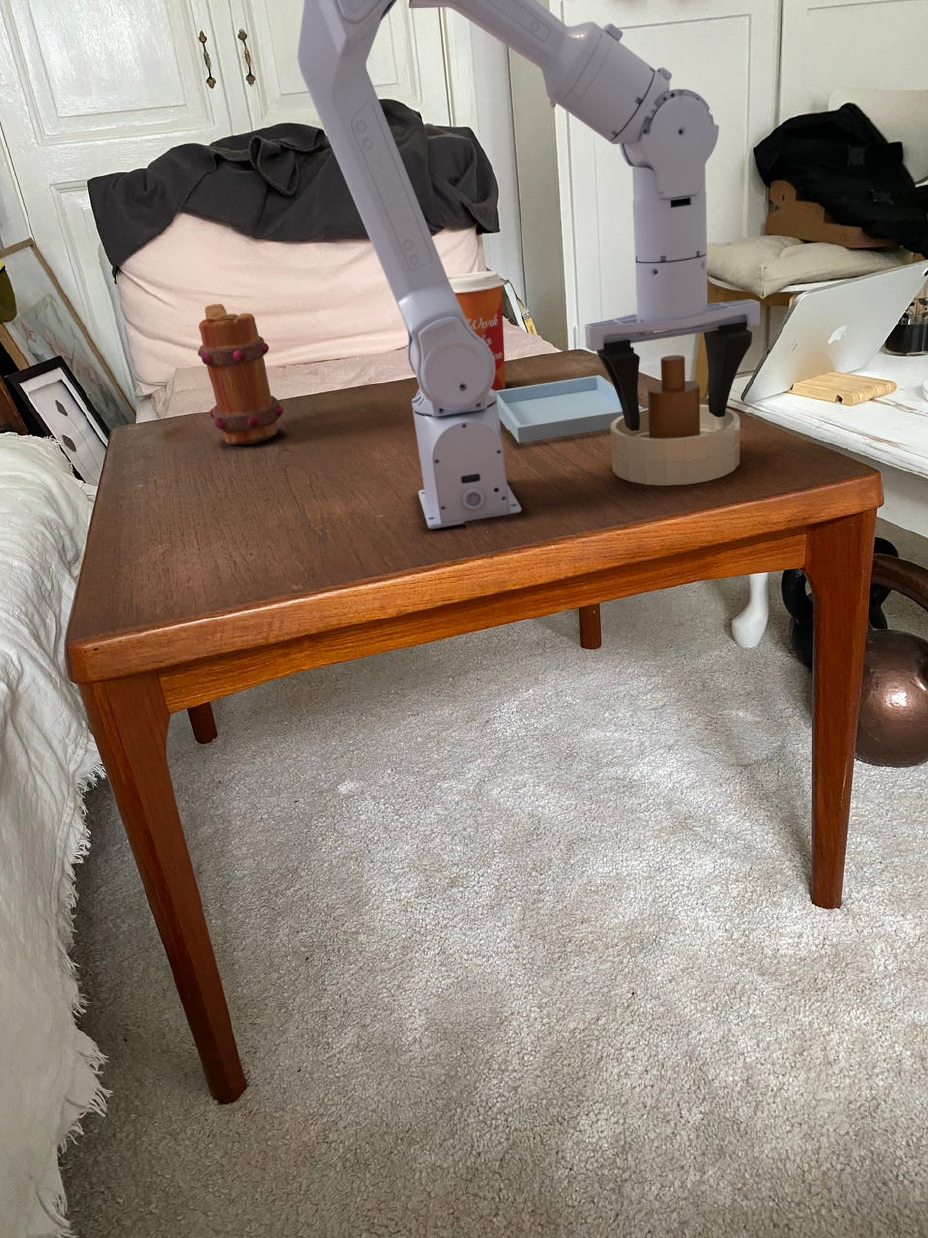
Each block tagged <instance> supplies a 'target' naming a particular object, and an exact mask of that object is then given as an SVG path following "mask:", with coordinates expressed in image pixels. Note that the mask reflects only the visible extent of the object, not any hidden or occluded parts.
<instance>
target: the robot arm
mask: <svg viewBox="0 0 928 1238" xmlns="http://www.w3.org/2000/svg"><path fill="white" fill-rule="evenodd" d="M396 2H398V0H303V5H302V13H301V21H300V29H299V36H298V45H297V53H296V55H297V57H296V58H297V64H298V67H299V71H300V74H301V77H302V80H303V82H304V85H305V86H306V90H307V91H308V94H309V96H310V99H311V101H312V104H313V106H314V109H315V111H316V113H317V115H318V117H319V120H320V123H321V125H322V127H323V130H324V132H325V135H326V136H327V140H328V142H329V144H330V147H331V149H332V151H333V154H334V156H335V158H336V161H337V164H338V166H339V168H340V170H341V173H342V175H343V177H344V180H345V182H346V183H345V184H346V185H347V188H348V190H349V192H350V194H351V197H352V199H353V201H354V204H355V206H356V209H357V211H358V214H359V216H360V219H361V221H362V223H363V225H364V228H365V231H366V233H367V235H368V238H369V240H370V242H371V245H372V247H373V249H374V252H375V254H376V257H377V259H378V261H379V264H380V267H381V269H382V271H383V274H384V276H385V278H386V281H387V283H388V286H389V288H390V291H391V293H392V296H393V298H394V300H395V302H396V305H397V308H398V310H399V313H400V316H401V319H402V320H403V323H404V326H405V328H406V331H407V337H408V342H407V344H408V345H407V359H408V363H409V366H410V368H411V371H412V372H413V374H414V375H415V376H416V381H417V384H418V386H419V389H418V390H417V392H416V394H415V397H414V398H412V399H411V408H412V415H413V421H414V427H415V435H416V441H417V450H418V456H419V462H420V470H421V476H422V483H423V489H421V490H418V492H417V493H418V498H419V501H420V505H421V508H422V511H423V515H424V519H425V522H426V525H427V528H428V529H430V530H433V529H434V530H435V529H440V528H448V527H453V526H460V525H465V524H466V523H465V522H467V521H473V520H480V519H487V518H492V517H499V516H505V515H510V514H518V513H521V512H522V507H521V505H520V503H519V501H518V500H517V498H516V496H515V495H514V494H513V491H512V489H511V487H510V486H509V484H508V480H507V471H506V470H507V469H506V461H505V451H504V445H503V439H502V430H501V420H500V418H499V410H498V401H497V393H496V391H495V390H493V389H491V387H492V385H493V382H494V379H495V372H496V369H495V360H494V357H493V354H492V351H491V350H490V348H489V346H488V345H487V344H486V343H485V341H484V340H482V339H481V338H480V337H479V336H478V335H477V334H476V333H475V331H474V330H473V329H472V327H471V326H470V325H469V324H468V323H467V320H466V318H465V316H464V313H463V310H462V308H461V306H460V304H459V302H458V300H457V297H456V295H455V293H454V291H453V289H452V287H451V285H450V283H449V280H448V278H449V277H448V275H447V273H446V270H445V267H444V266H443V265H444V264H443V263H442V259H441V258H440V254H439V253H438V252H439V251H438V249H437V248H436V247H437V246H436V244H435V242H434V239H433V237H432V234H431V231H430V229H429V227H428V224H427V222H426V219H425V216H424V213H423V211H422V209H421V206H420V203H419V200H418V198H417V195H416V193H415V190H414V188H413V185H412V183H411V180H410V177H409V175H408V172H407V170H406V166H405V164H404V162H403V159H402V156H401V154H400V152H399V149H398V146H397V145H396V141H395V139H394V135H393V133H392V131H391V129H390V126H389V124H388V121H387V118H386V116H385V113H384V110H383V108H382V106H381V103H380V100H379V98H378V94H377V93H376V90H375V87H374V84H373V82H372V79H371V77H370V74H369V72H368V68H367V61H368V58H369V55H370V53H371V50H372V48H373V45H374V42H375V40H376V36H377V35H378V34H377V33H378V31H379V29H380V25H381V23H382V20H383V19H384V18H385V17H386V16H387V15H388V14H389V12H390V11H391V9H392V8H393V7H394V5H395V4H396ZM432 8H434V9H436V8H437V9H438V8H448V9H452V10H453V11H455V12H456V13H458V14H460V15H461V16H463V17H464V18H465V19H467V20H469V21H470V22H472V23H473V24H474V25H475V26H478V27H479V28H480V29H482V30H483V31H484V32H486V33H487V34H490V35H491V36H492V37H494V38H495V39H497V40H498V41H500V42H501V43H502V44H504V45H505V46H507V47H509V48H510V49H511V50H513V51H514V52H516V53H517V54H519V55H520V56H522V57H523V58H525V59H527V61H529V62H531V63H532V64H533V65H535V66H536V67H538V68H539V69H540V70H541V72H542V76H543V79H544V84H545V90H546V94H547V97H548V99H550V100H552V101H553V102H554V103H555V104H557V105H558V106H559V107H561V108H562V109H563V110H565V111H566V112H568V113H569V114H570V115H572V116H573V117H575V118H576V119H578V120H579V121H580V122H581V123H583V124H584V125H586V127H589V128H590V129H591V130H593V131H594V132H595V133H597V134H598V135H600V136H601V137H602V138H603V139H605V140H606V141H608V142H609V143H611V144H612V145H618V146H619V150H620V153H621V155H622V157H623V160H624V161H625V163H626V164H627V165H628V167H632V169H631V170H632V193H633V194H632V195H633V199H632V218H633V220H632V221H633V241H634V245H633V246H634V267H635V268H634V270H635V294H636V313H633V314H628V315H624V316H619V317H616V318H615V317H614V318H611V319H606V320H602V321H597V322H592V323H586V324H584V336H585V347H586V348H587V349H588V350H589V351H591V352H596V353H597V356H598V358H599V359H600V361H601V363H602V365H603V367H604V368H605V370H606V372H607V374H608V377H609V378H610V380H611V384H612V385H613V386H614V388H615V390H616V393H617V395H618V398H619V401H620V405H621V408H622V412H623V416H624V421H625V426H626V427H627V428H628V429H630V430H631V431H636V430H639V429H640V414H639V405H640V404H639V370H640V361H641V356H639V355H638V354H637V353H635V347H634V346H632V345H631V344H636V343H644V342H648V341H649V342H650V341H656V340H662V339H669V338H675V337H682V336H687V335H688V336H689V335H694V334H695V335H696V334H701V333H703V338H704V345H705V352H706V361H707V362H706V363H707V374H708V375H707V377H708V378H707V405H708V406H709V412H710V413H711V414H713V415H714V416H716V417H724V416H725V412H726V409H727V407H728V402H729V398H730V395H731V394H730V393H731V390H732V387H733V384H734V381H735V378H736V375H737V373H738V370H739V369H740V366H741V364H742V362H743V360H744V358H745V356H746V354H747V352H748V351H749V349H750V347H751V346H752V343H753V331H751V330H749V329H748V328H753V327H758V326H760V325H761V302H760V301H758V300H755V299H751V298H750V299H741V300H735V301H723V302H712V303H708V264H707V263H708V258H707V255H708V254H707V252H708V249H707V248H708V246H707V245H708V244H707V242H708V239H707V237H708V236H707V235H708V234H707V233H708V231H707V229H708V228H707V227H708V226H707V190H706V164H707V162H708V160H709V159H710V157H711V156H712V154H713V152H714V150H715V148H716V146H717V142H718V139H719V134H720V133H719V131H720V126H719V124H715V122H714V116H713V114H711V113H710V110H711V107H710V106H709V104H708V102H707V101H706V100H705V99H704V98H703V97H702V96H701V95H700V94H699V93H697V92H695V91H693V90H690V89H687V88H684V89H682V88H675V89H671V79H672V78H673V74H672V72H670V70H668V69H667V68H666V67H664V66H661V67H659V68H657V69H655V68H654V67H652V66H651V65H650V64H649V63H648V62H646V61H645V60H644V59H642V58H641V57H639V56H638V55H637V54H636V53H634V52H633V51H632V50H631V49H629V48H628V47H627V46H626V45H624V44H623V43H622V42H621V39H622V37H623V35H624V33H623V31H622V30H621V29H619V27H617V26H616V25H614V24H613V23H612V22H610V23H607V24H605V25H604V26H603V27H601V26H600V25H598V24H597V23H596V22H594V21H586V22H582V23H580V24H576V25H572V26H568V25H566V24H565V23H564V22H563V21H562V20H560V19H559V18H558V17H557V16H556V15H555V14H554V13H552V12H551V11H550V10H549V9H548V8H546V7H545V6H544V5H543V4H541V3H540V2H539V1H538V0H408V9H432Z"/></svg>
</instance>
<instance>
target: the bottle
mask: <svg viewBox="0 0 928 1238" xmlns="http://www.w3.org/2000/svg"><path fill="white" fill-rule="evenodd" d="M685 360H686V357H685V356H684V355H679V354H675V355H673V354H672V355H665V356H663V357H661V358H660V378H661V379H660V381H661V382H658V383H655V384H652V385H650V386H649V387H647V408H648V419H649V438H681V437H690V436H696V435H700V404H701V401H700V400H701V398H700V397H701V396H700V395H701V393H700V391H701V389H700V387H701V385H700V384H699V383H698V382H695V381H691V380H686V361H685Z"/></svg>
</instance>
